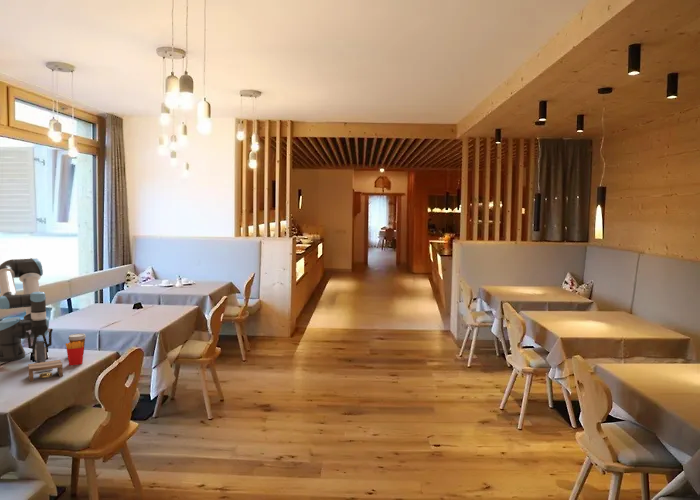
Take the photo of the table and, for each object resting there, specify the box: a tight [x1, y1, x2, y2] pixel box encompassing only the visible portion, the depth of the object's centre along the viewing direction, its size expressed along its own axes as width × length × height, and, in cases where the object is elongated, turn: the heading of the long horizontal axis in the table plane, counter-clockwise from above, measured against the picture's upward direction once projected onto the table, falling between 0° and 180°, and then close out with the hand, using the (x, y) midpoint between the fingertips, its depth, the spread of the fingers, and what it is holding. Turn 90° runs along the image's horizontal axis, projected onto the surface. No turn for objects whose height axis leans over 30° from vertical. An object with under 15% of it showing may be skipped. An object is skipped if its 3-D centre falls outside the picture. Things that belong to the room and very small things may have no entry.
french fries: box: [65, 341, 85, 366], centre depth 300 cm, size 9×4×13 cm, turn 118°
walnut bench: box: [27, 359, 64, 382], centre depth 279 cm, size 10×15×6 cm, turn 125°
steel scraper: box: [34, 340, 53, 374], centre depth 296 cm, size 22×8×12 cm, turn 35°
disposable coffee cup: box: [68, 332, 87, 355], centre depth 319 cm, size 10×10×12 cm
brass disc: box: [38, 371, 53, 379], centre depth 280 cm, size 6×6×2 cm
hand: (40, 358), depth 303 cm, fingers closed on steel scraper, 4 cm apart
